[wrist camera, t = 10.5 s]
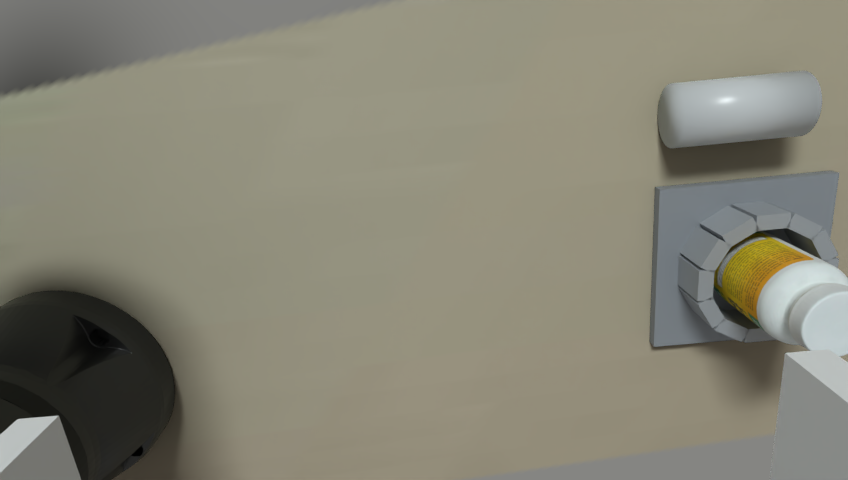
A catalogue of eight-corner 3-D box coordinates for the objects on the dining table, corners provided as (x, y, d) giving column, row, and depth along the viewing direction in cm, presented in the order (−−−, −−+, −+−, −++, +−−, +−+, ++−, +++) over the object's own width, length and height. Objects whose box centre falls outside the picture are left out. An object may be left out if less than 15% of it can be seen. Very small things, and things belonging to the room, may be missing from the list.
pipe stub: (656, 143, 37) (683, 152, 33) (658, 82, 36) (687, 84, 32) (776, 132, 37) (817, 140, 33) (782, 70, 36) (825, 71, 32)
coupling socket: (649, 341, 42) (671, 368, 38) (655, 187, 38) (679, 200, 34) (809, 327, 41) (846, 353, 38) (830, 170, 38) (874, 181, 34)
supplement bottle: (793, 239, 38) (910, 294, 29) (759, 306, 40) (859, 379, 31) (723, 219, 38) (819, 269, 29) (691, 288, 39) (773, 356, 30)
